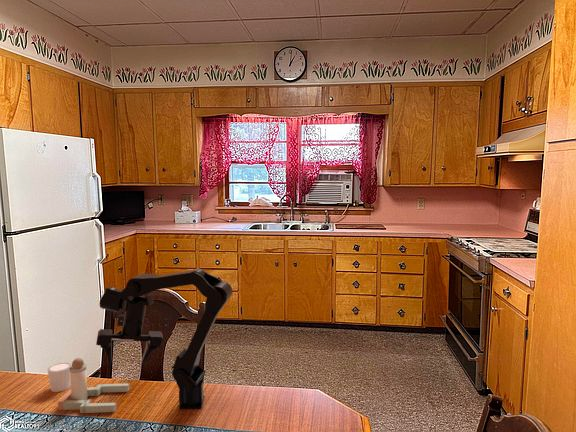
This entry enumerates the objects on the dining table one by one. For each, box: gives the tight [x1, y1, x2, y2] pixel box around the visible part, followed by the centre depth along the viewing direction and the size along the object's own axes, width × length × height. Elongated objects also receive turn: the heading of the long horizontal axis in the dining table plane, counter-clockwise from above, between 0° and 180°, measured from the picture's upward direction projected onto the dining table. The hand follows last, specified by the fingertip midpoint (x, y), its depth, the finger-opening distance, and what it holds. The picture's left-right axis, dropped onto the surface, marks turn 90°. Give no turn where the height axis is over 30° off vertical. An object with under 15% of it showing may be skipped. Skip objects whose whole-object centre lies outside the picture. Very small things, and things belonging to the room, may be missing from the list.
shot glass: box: [47, 362, 72, 393], centre depth 133 cm, size 7×7×7 cm
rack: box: [57, 383, 130, 414], centre depth 124 cm, size 17×13×2 cm
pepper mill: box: [69, 357, 89, 400], centre depth 124 cm, size 5×5×14 cm
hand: (126, 364), depth 124 cm, fingers open, 9 cm apart
